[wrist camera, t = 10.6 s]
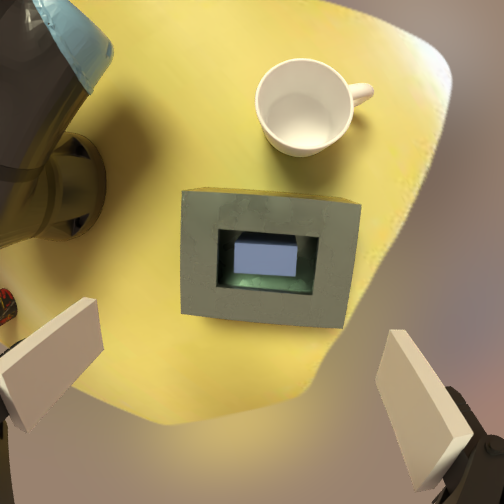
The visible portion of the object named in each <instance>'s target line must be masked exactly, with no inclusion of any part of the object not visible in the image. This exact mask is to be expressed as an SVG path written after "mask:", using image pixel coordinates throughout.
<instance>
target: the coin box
mask: <svg viewBox="0 0 504 504" xmlns="http://www.w3.org/2000/svg"><path fill="white" fill-rule="evenodd" d="M360 214H361V204H358V203H356V202H353V201H350V200H347V199H344V198H339V197H329V196H320V195H309V194H298V193H287V192H274V191H261V190H246V189H230V188H210V187H203V188H197V189H190V190H183V191H182V202H181V245H180V288H181V314H187V315H194V316H202V317H211V318H219V319H228V320H237V321H247V322H258V323H268V324H280V325H293V326H307V327H323V328H341V329H343V325H344V320H345V315H346V309H347V304H348V298H349V293H350V287H351V281H352V274H353V268H354V261H355V254H356V247H357V239H358V231H359V223H360ZM242 232H250V233H269V234H287V235H295V237H296V242H297V246H298V247H297V261H296V274H295V276H277V275H261V274H244V273H234V250H235V242H236V240H237V239H238V237H239V236H240V235H241V233H242Z"/></svg>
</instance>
